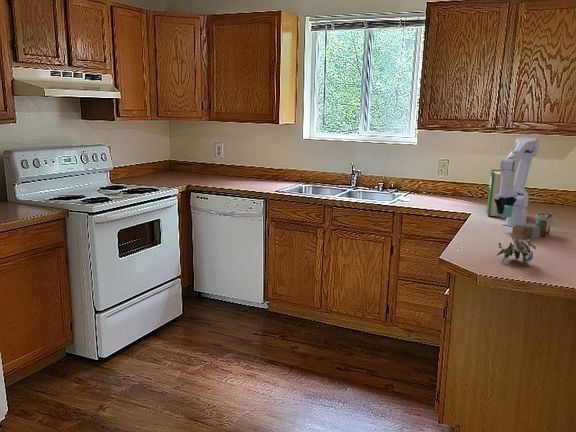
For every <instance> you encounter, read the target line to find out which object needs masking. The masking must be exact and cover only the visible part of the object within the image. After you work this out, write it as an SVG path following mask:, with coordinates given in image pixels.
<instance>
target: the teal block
mask: <svg viewBox="0 0 576 432" xmlns="http://www.w3.org/2000/svg"><path fill="white" fill-rule="evenodd" d="M512 208H513V206H508V205H505V206H504V210H503V214H498V211H497V208H496V216H495V217H498V218H501V217H503V219H504V218H507V217H512Z"/></svg>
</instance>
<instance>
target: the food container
mask: <svg viewBox="0 0 576 432" xmlns="http://www.w3.org/2000/svg"><path fill="white" fill-rule="evenodd" d="M552 218H553V212H543V211H542V212H537V213H536V214H535V216H534V219H535V226H540V227H541V230H540V237H539V238H543V239H546V238H547V237H548V236H549V235H550V230H551V225H552V220H553V219H552Z"/></svg>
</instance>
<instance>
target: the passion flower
mask: <svg viewBox="0 0 576 432" xmlns="http://www.w3.org/2000/svg"><path fill="white" fill-rule="evenodd" d="M511 239H512V241H513V242H509V246H508V247H506V248H503V247H502V246H501V245H502V243H501V242H498V248H499V249H501V250H500V251H499V252H498V253H497V254H496V257H497V256H499V255H501V254H504V255H503V257H502V261H501V263H503V262H504V261H505V260H506V259H508V258H509V257H512V256H513V254H514V259H515V260H519V259H520V256H521V255H522V262H523V264H524V265H525V266H526V267H529V268H530V267H531V265H532V264H531V261H532V260H533V259H534V258H533V257H534V255H533V254H534V252H533V250H531V247H532V249H534V250H537V247H536V245H535V244H534V243H533V241H532V238H530V239H529V238H528V239H526V240H527V241H526V242H525V241H524V239H520V238H518V237H517V238H515V236H514V235H513V234H512V233H511Z"/></svg>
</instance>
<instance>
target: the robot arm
mask: <svg viewBox="0 0 576 432" xmlns="http://www.w3.org/2000/svg"><path fill="white" fill-rule="evenodd" d="M514 143H515V144H514V147H515V148H514V149H513V150H512V151H510V153H509V154H508V155H507V157H506V158H504V159H502V160H501V161H500V165H499V166H500V169H499V170H501V184H500V193H499V194H496V195H494V201H495V203H496V206H497V211H498V214H503V210H504V206H505V205H508V206H513V208H512V217H506V219H505V222H504V223H501V225H504V226H507V227H512V228H513V226H519V225H520V226H524V225H527V217H528V215H527V214H528V212H527V209H526V208H527V207H528V204H529V193H528V192H527V190H525V187H526V184H527V183H526V182H527V179H528V175H529V171H530V166H531V164H532V160H533V158H535V157H537V154H538V151H539V147H540V140H539V138H537V137H520V136H519V137H516V139H515V142H514ZM516 172H517V173H516ZM515 174H516V175H515ZM515 176H516V177H515ZM503 198H504V199H503Z"/></svg>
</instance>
